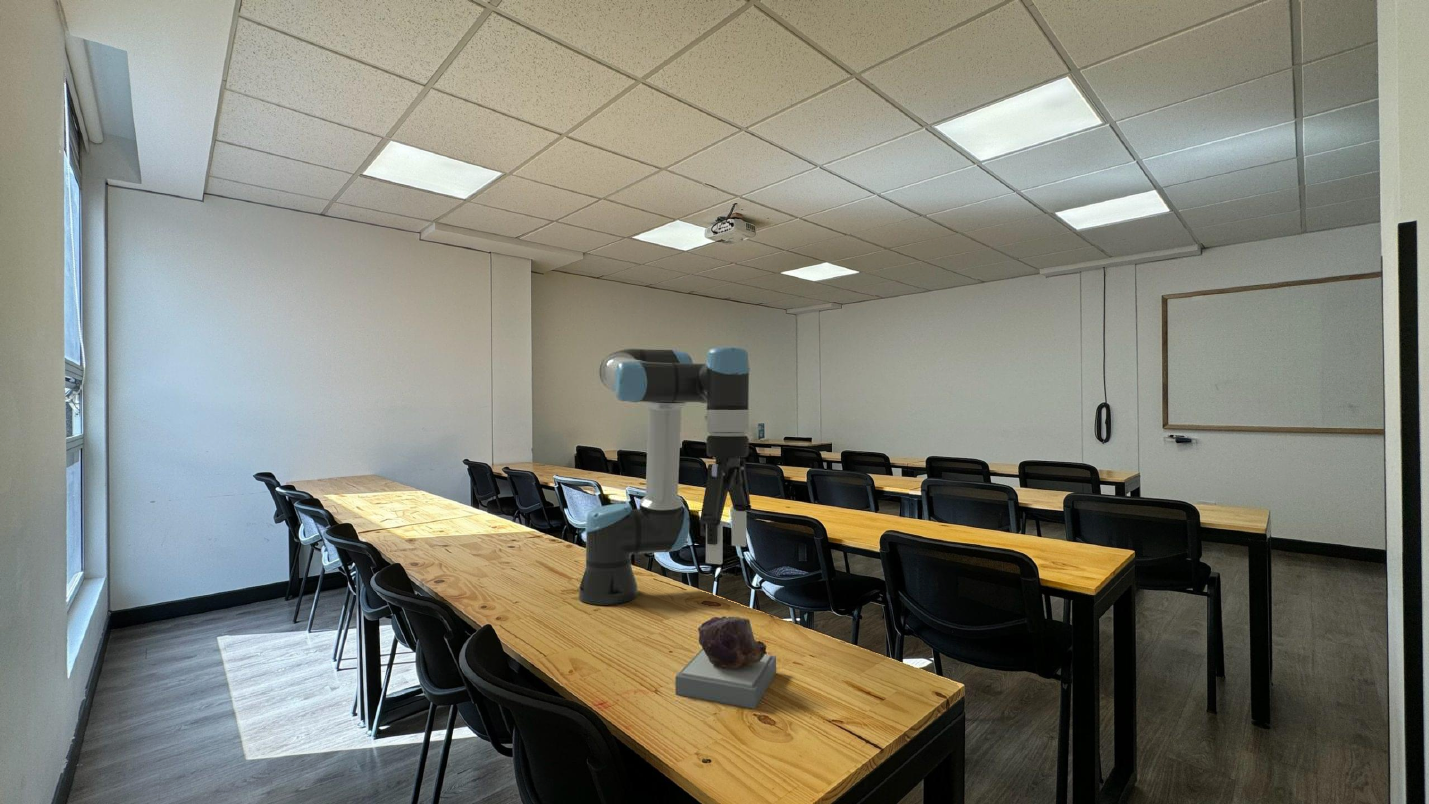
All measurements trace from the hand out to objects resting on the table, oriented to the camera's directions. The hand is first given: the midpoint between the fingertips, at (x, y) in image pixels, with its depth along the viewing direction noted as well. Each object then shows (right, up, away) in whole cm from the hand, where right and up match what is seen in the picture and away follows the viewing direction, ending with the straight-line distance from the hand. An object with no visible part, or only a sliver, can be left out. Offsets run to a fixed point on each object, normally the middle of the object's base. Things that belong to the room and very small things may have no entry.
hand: (727, 554), depth 102 cm
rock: (0, -19, -1) cm, 19 cm away
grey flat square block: (0, -23, -1) cm, 23 cm away
